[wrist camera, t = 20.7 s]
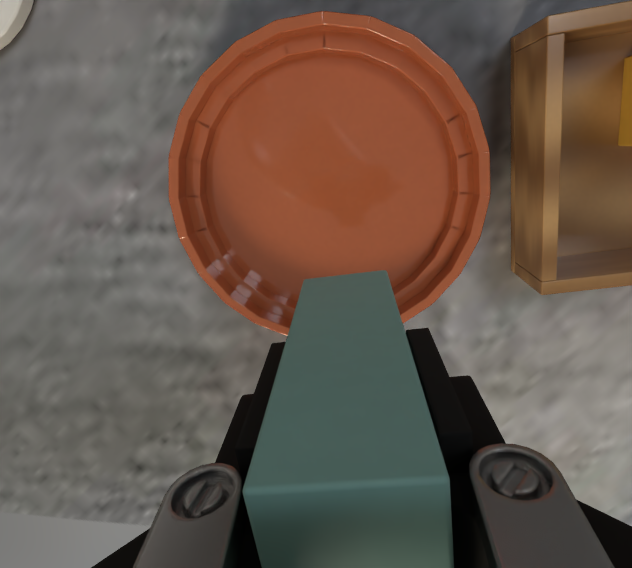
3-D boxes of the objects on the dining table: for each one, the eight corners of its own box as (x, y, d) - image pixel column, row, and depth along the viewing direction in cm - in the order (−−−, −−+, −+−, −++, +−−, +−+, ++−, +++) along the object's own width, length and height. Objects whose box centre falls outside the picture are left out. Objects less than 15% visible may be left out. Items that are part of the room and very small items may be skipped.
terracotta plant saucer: (153, 58, 25) (129, 48, 22) (469, -3, 23) (487, -23, 20) (221, 334, 31) (209, 354, 28) (478, 306, 28) (493, 325, 26)
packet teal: (303, 278, 13) (238, 491, 5) (386, 268, 12) (450, 478, 5) (324, 407, 14) (298, 720, 7) (398, 401, 14) (463, 720, 6)
